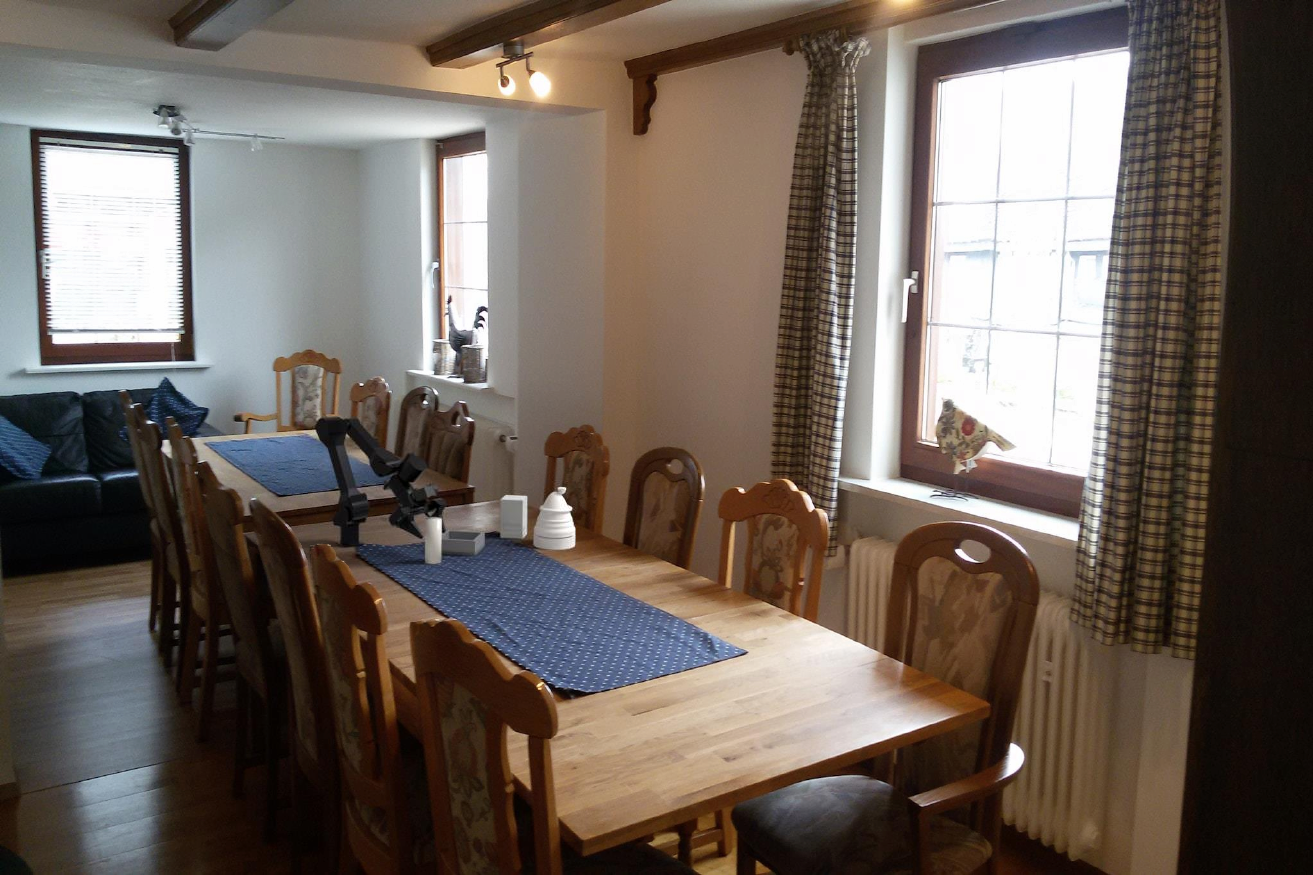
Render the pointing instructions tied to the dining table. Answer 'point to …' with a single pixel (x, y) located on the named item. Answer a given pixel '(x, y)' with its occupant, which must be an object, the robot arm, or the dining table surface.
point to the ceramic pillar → (433, 540)
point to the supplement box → (513, 517)
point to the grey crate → (462, 542)
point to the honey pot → (555, 524)
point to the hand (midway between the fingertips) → (433, 535)
